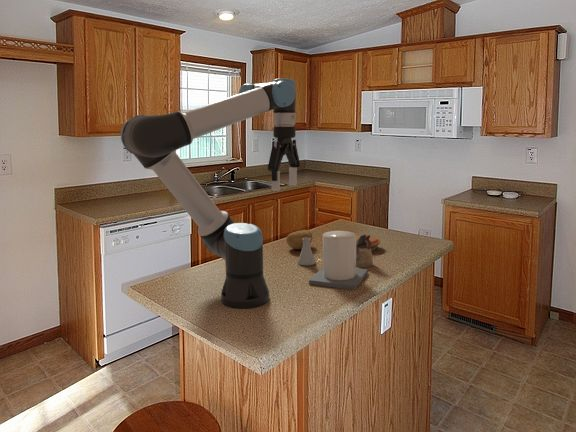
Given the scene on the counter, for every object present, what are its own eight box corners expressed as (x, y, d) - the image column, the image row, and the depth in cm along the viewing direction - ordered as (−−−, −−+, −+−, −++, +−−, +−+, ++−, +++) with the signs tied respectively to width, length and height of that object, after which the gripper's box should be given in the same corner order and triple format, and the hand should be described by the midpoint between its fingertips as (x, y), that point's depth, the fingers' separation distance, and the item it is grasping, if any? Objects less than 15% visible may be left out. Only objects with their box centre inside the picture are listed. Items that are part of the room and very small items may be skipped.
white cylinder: (350, 281, 163) (350, 239, 160) (318, 277, 167) (318, 237, 164) (358, 271, 173) (359, 232, 170) (328, 268, 177) (328, 229, 174)
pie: (355, 242, 219) (356, 231, 218) (386, 247, 209) (387, 236, 208) (336, 249, 207) (337, 238, 206) (368, 256, 197) (369, 244, 196)
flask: (314, 266, 184) (314, 241, 182) (295, 265, 186) (295, 240, 184) (317, 261, 191) (317, 236, 189) (299, 260, 192) (299, 236, 190)
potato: (318, 246, 212) (318, 229, 210) (299, 254, 201) (299, 235, 199) (301, 243, 218) (300, 226, 216) (281, 250, 207) (281, 232, 205)
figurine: (361, 260, 191) (361, 231, 188) (376, 264, 186) (377, 234, 183) (350, 264, 186) (350, 234, 183) (365, 268, 181) (365, 237, 178)
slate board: (354, 290, 159) (354, 285, 159) (309, 284, 165) (309, 280, 165) (367, 273, 175) (367, 269, 175) (325, 268, 181) (325, 264, 181)
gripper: (277, 126, 152) (278, 193, 156) (309, 125, 174) (308, 184, 178) (256, 126, 155) (257, 192, 159) (290, 125, 177) (290, 183, 181)
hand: (284, 188), depth 168 cm, fingers open, 13 cm apart
